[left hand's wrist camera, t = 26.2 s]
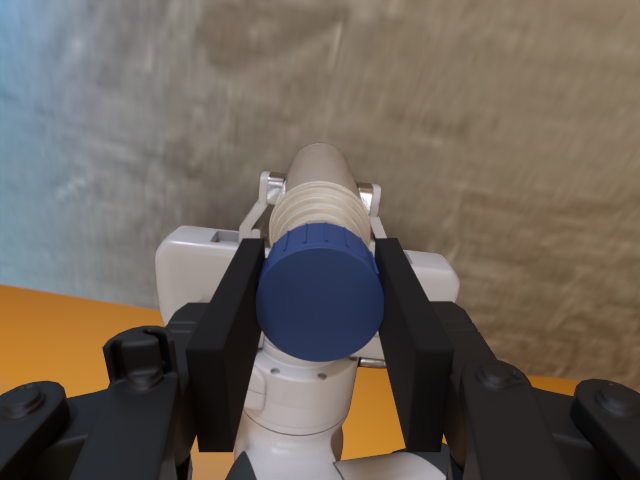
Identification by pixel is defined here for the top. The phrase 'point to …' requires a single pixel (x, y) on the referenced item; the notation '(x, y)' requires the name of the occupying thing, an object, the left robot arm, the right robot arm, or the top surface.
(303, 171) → the bottle
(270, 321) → the cap
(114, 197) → the top surface
